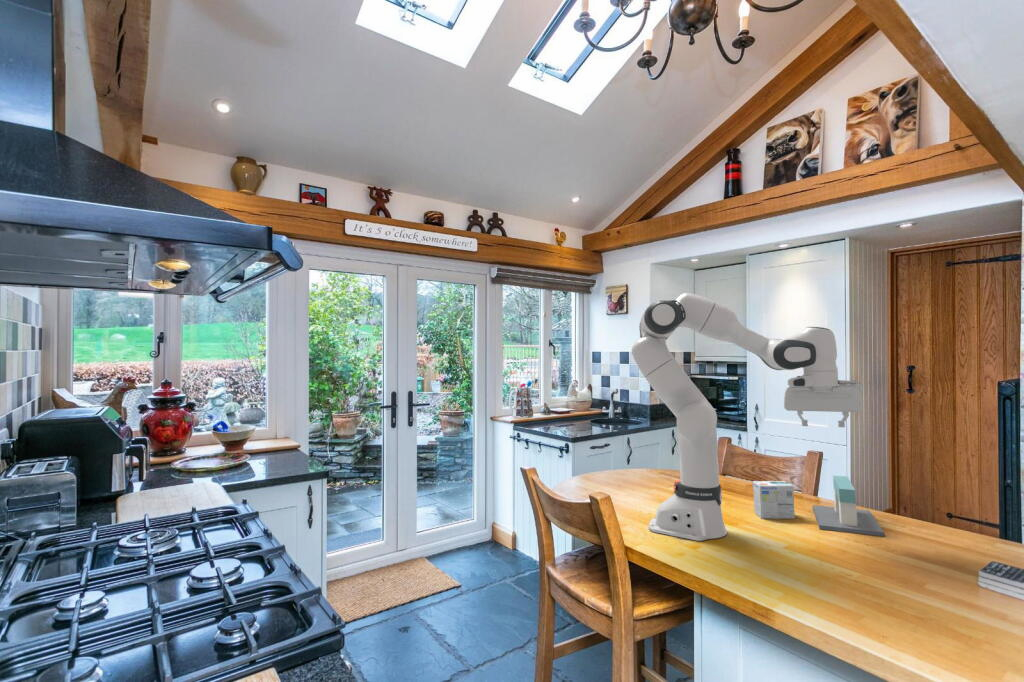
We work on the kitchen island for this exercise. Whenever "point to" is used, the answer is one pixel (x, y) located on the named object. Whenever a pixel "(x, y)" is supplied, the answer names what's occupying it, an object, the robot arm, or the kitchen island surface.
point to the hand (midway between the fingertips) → (822, 426)
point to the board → (835, 525)
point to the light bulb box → (773, 499)
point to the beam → (844, 489)
